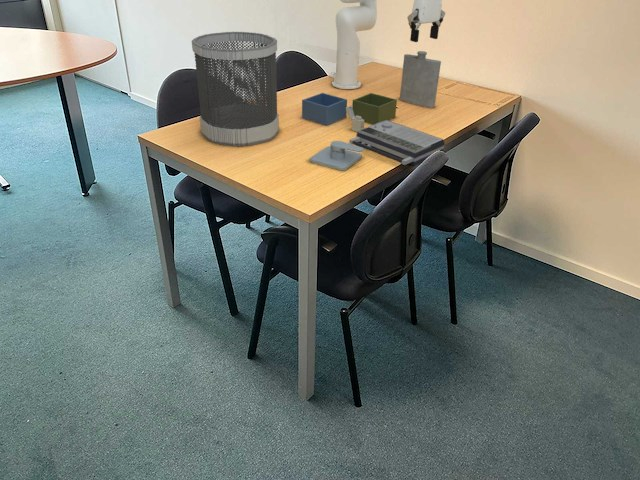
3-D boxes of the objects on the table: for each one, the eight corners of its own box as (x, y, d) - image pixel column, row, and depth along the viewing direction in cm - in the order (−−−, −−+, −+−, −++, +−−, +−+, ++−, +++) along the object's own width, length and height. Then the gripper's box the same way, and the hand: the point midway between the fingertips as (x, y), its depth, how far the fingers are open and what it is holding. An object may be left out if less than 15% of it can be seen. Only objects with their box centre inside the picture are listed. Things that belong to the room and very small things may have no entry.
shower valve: (352, 156, 152) (308, 144, 158) (351, 173, 155) (308, 161, 161) (371, 142, 161) (329, 132, 167) (370, 158, 164) (328, 148, 170)
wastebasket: (220, 151, 166) (212, 53, 150) (192, 126, 184) (181, 36, 168) (290, 137, 177) (289, 44, 161) (257, 114, 195) (253, 29, 179)
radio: (446, 136, 167) (407, 153, 155) (443, 152, 170) (405, 169, 158) (386, 116, 181) (347, 130, 169) (385, 131, 184) (346, 146, 172)
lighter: (363, 131, 183) (365, 109, 179) (360, 133, 182) (362, 110, 178) (347, 126, 187) (348, 104, 183) (344, 128, 186) (345, 106, 181)
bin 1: (301, 118, 193) (302, 99, 190) (321, 110, 201) (322, 92, 197) (326, 125, 187) (327, 107, 184) (346, 117, 195) (347, 99, 191)
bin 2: (351, 118, 195) (352, 100, 191) (369, 110, 202) (370, 92, 199) (377, 125, 189) (379, 107, 185) (395, 117, 196) (397, 99, 193)
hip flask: (436, 106, 208) (443, 54, 197) (430, 108, 205) (437, 56, 195) (402, 97, 217) (407, 47, 206) (396, 99, 214) (402, 48, 203)
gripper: (439, -17, 182) (433, 35, 191) (403, -14, 173) (398, 40, 182) (456, -14, 177) (448, 39, 186) (420, -11, 168) (413, 44, 177)
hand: (423, 39), depth 184 cm, fingers open, 9 cm apart
